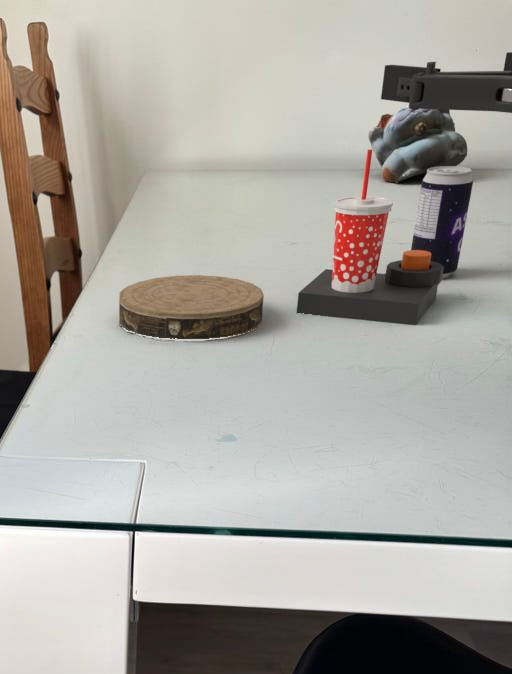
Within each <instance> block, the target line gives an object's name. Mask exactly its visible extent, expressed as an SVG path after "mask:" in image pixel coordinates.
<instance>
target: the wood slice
mask: <svg viewBox="0 0 512 674" xmlns="http://www.w3.org/2000/svg"><path fill="white" fill-rule="evenodd" d="M264 296H265V295H264V292H263V289H262V288H261V287H260V286H258V285H255V284H254V283H252V282H249V281H245V280H242V279H238V278H232V277H227V276H226V277H225V276H219V275H202V274H195V275H194V274H193V275H192V274H191V275H189V274H187V275H172V276H171V275H170V276H163V277H162V276H161V277H155V278H151V279H145V280H140V281H138V282H135V283H132V284H130V285H126V286H125V287H124V288H123V289H122V290H120V291H119V297H118V299H119V300H118V301H119V302H118V303H119V304H118V305H119V307H118V309H119V311H118V312H119V313H118V314H119V315H118V316H119V319H118V320H119V321H118V322H119V323H118V325H121V326H122V327H123V328H125V329H126V330H128V331H132V332H135V333H137V334H141V335H146V336H152V337H159V338H170V339H172V338H173V339H175V338H177V339H209V338H220V337H228V336H233V335H238V334H243V333H246V332H248V331H250V332H252V331H254V330H256V329H258V328H259V326H260V325H261V323H262V320H263V310H264V309H263V308H264V307H263V306H264ZM259 324H260V325H259ZM258 325H259V326H258ZM123 328H122V329H123ZM255 328H256V329H255ZM253 329H254V330H253ZM251 330H252V331H251ZM248 333H249V332H248ZM246 334H247V333H246Z"/></svg>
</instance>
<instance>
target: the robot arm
mask: <svg viewBox="0 0 512 674" xmlns="http://www.w3.org/2000/svg"><path fill="white" fill-rule="evenodd" d="M436 65H437V61H427V62H426V67H425V66H413V65H402V64H385V65H384V70H383V79H382V85H381V86H382V87H381V95H380V100H384V101H390V102H392V101H393V102H399V103H408V105H409V108H410V109H413V110H419V109H442V110H450V111H475V112H496V113H506V114H512V51H509V52H506V54H505V60H504V64H503V70H475V71H472V70H470V71H441V70H442V69H441V68H437V67H436Z"/></svg>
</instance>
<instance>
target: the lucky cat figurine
mask: <svg viewBox="0 0 512 674" xmlns="http://www.w3.org/2000/svg"><path fill="white" fill-rule="evenodd" d="M450 111H451V110H442V109H419V110H413V109H410V108H409V104H408V105H405V106H404V107H402V108H400V109H398V110H397V111H396V112H395V113H393V114H390V113H386V114H382V115H381V116H380V120H379V121H378V124H377V125H376V126H373V127H372V128H371V130H369V131H368V133H367V134H368V135H367V137H368V141H369V144H370V146H371V150H372V152H374V155H375V157H376V160H377V162H378V164H379V165H380V169H381V175H382V178H383V180H384V181H385V182H388V181H390V182H389V183H393V182H397V183H396V184H398V183H400V182H402V181H404V180H406V179H409V178H411V177H416V176H422V175H426V174H427V170H428V169H429V168H433V167H441V166H456V167H458V165H459V166H460V165H461V163H463V162H464V161H465V159H466V158H467V156H468V143H467V140H466V139H465V137H464V136H463V135H462V134H460V133H459V132H457V131H456V127H455V125H456V123H455V121H454V119H453V118H452V116H451V112H450Z"/></svg>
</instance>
